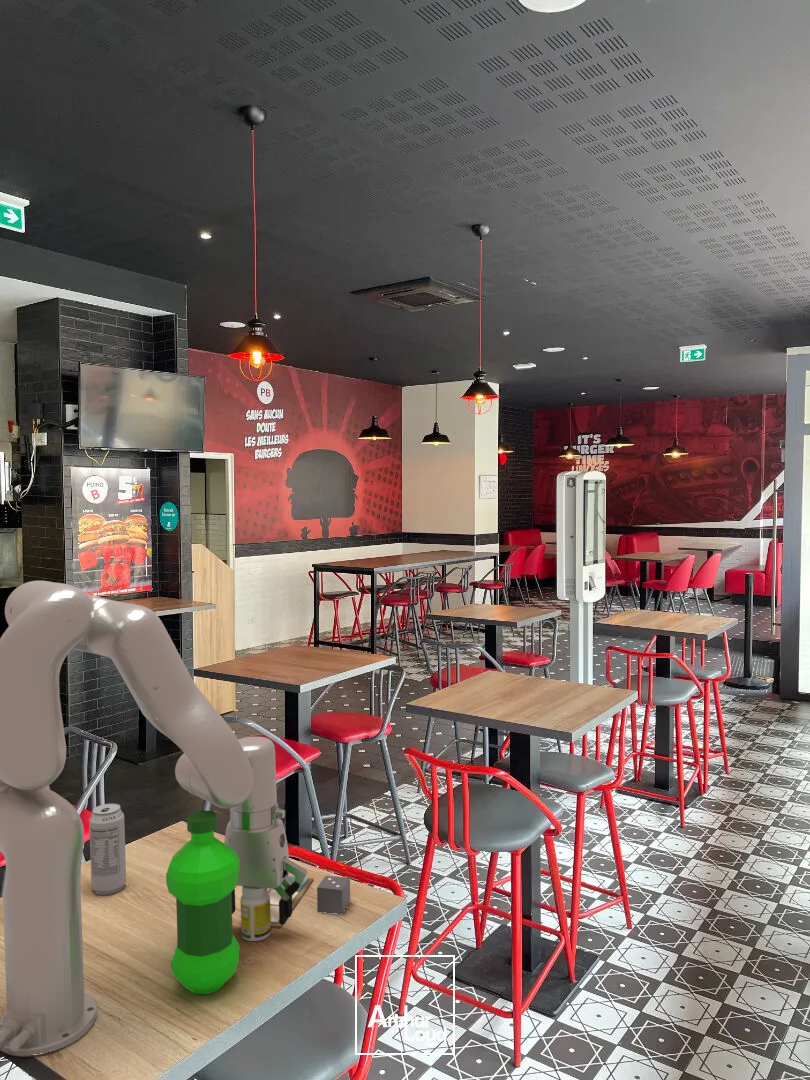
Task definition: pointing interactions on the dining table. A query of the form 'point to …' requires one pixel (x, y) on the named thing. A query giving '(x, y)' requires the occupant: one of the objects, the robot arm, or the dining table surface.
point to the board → (276, 897)
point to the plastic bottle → (204, 907)
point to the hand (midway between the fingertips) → (257, 917)
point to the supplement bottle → (255, 913)
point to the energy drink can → (107, 849)
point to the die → (333, 894)
